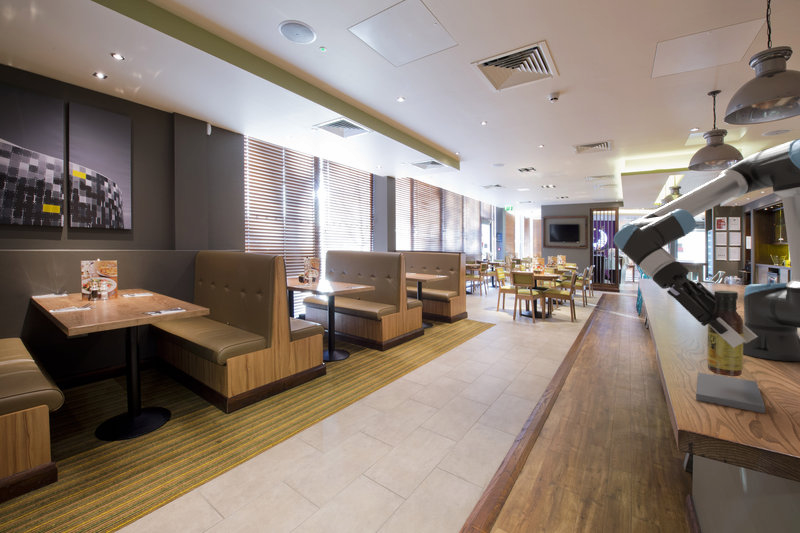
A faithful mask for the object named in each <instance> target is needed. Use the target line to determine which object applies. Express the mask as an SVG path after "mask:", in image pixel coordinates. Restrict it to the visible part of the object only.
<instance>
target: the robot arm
mask: <svg viewBox="0 0 800 533" xmlns="http://www.w3.org/2000/svg"><path fill="white" fill-rule="evenodd" d="M769 188H772V192H773V194H775V195H777V196H779V197H780V198H781V199H782V201H781V202H782V207H783V214H784V215H783V216H784V221H785V230H786V237H787V238H786V239H787V244H788V245H787V246H788V252H789V260H790V268H791V277H792V279H791V280H790V281H789V282H775V283H774V282H773V283H754V284H753V283H751V284H748V285H746V286H745V288H744V293H743V316H744V317H743V318H744V319H743V337H741V336H740V335H739V334H738V333H737V332H736V331H735V330H733V329H732V328H731V327H730V326H729V325H728V324H727V323H726V322H724V321H723V320H722V319H721V318H720V317H719V318H717V317H716V316H715V315H714V314H713V311H714V309H715V296H714V294H713V293H712V292H711V291H710V290H708V288H706V287H705V286H704V285H703V284H702V283H701V282H699V281H697V282H694V281H693V280H690V279H689V278H687V276H688V275H689V273H690V270H689V269H688V267H686V266H684V265H683V264H682V263H681V262H680V261H677V259H676V258H675V257H674V256H673V255H672V254H670V252H668V251H667V250H666V249H665V248H664V247H666V246H667V245H670V244H671V243H673V242H676V241H677V240H679V239H681V238H683V237H686V236H687V235H688V234H690V233H691V232H693V231H694V230H695V229H696V226H697V223H696V219H695V217H697V216H698V215H700V214H703V213H705V212H706V211H708V210H710V209H713V208H714V207H716V206H719V205H721V204H722V203H724V202H726V201H728V200H729V199H731V198H736V199H737V198H741V197H743V196H744V195H747V194H749V193H751V192H755V191H758V190H759V191H760V190H762V189H763V190H764V189H769ZM612 240H613V243H614V245H615V246H616V247H617V248H618V249H619V250H620V252H621V253H623V254H624V255H625V256H627V258H628V259H629V260H631V261H632V262H633V263H634V264H636V266H638V267H639V269H640V270H642V273H643V274H644V275H647V276H648V277H649V278H652V281H653V282H654V283H655V284H657V285H658V287H659V288H660V289H663V290H664V289H665V290H666V289H668V290H667V291H666V292H667V294H669V295H670V297H672V298H674V299H675V301H676V302H678V303H679V305H681V306H682V307H683V308H684V309H685V310H686V311H687V312H688V313H690V315H691V316H692V317H694V319H696V321H697V322H698V323H700V324H701V326H703V327H705V326H708V325H709V326H710V327H711V328H712V329H714V330H715V331H716V332H717V333H718V334H719V335H720V336H721V337H722V338H723V339H724V340H726V341H727V342H728V343H729V344H730V345H731V346H732V347H733V348H734V347H736V346H738V345H740V344H742V343H743V355H747V356H750V357H754V358H760V359H764V360H772V361H780V362H781V361H783V362H800V335H799V334H798V333H799V332H798V329H800V138H797V139H796V138H795V139H794V140H790V141H788V142H785V143H782V144H777V145H775V146H773V147H769V148H765V149H762V150H760V151H757V152H755V153H753V154H751V155H749V156H747V157H745V158H743V159H742V160H740V161H738V162H736V163H735V164H733V165H730V166H729V167H728V168H726V169H724V170H722V171H721V172H719V173H718V174H717V175H716V177H715V178H714V179H712V180H710V181H708V182H706V183H704V184H702V185H701V186H698V187H696V188H695V189H693V190H691V191H689V192H687V193H685V194H684V195H681V196H680V197H678V198H676V199H674V200H672V201H670V202H669V203H666V204H664V205H662V206H661V207H658V208H657V209H655V210H652V211H651V212H649V213H648V214H645V215H643V216H642V217H640V218H638V219H634V220H630V221H627V222H625V223H624V224H623V225H622V226H621V228H620V229H619V230H618V231H617V232H616V233H615V235H614V236H613V239H612ZM716 318H717V319H716Z"/></svg>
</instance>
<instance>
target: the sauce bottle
mask: <svg viewBox="0 0 800 533" xmlns="http://www.w3.org/2000/svg"><path fill="white" fill-rule="evenodd" d="M713 295H714V296H715V309H714V311H713V314H714V315H715V316H716V317H717V318H719V317H720V318H721V319H722V320H723V321H724V322H726V323H727V324H728V325H729V326H730V327H731V328H732V329H733V330H735V331H736V332H737V333H738V334H739V335H740V336H741V337H743V324H744V319H742V317H741V315H739V313H738V312H737V310H738V307H737V300H738V298H739V297H738V296H739V292H738V291H734V290H715V291H714V294H713ZM717 318H716V319H717ZM706 357H707V359H706V360H707V369H708V370H709V371H710V372H712V373H713V374H715V375H720V376H726V377H739V376H741V375H742V373H743V368H744V354H743V343H742V344H740V345H738V346H736V347H734V348H733V347H732V346H731V345H730V344H729V343H728V342H727V341H726V340H724V339H723V338H722V337H721V336H720V335H719V334H718V333H717V332H716V331H715V330H714V329H712V328H711V327H710V326H709V325H708V324H707V356H706Z"/></svg>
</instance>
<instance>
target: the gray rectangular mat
mask: <svg viewBox="0 0 800 533" xmlns="http://www.w3.org/2000/svg"><path fill="white" fill-rule="evenodd" d="M757 383H758V382H757V381H756V380H750V379H749V380H748V379H743V378H737V377H732V376H726V375H719V374H711V373H705V372H699V371H698V372H697V379H696V391H695V398H696V399H695V400H696V401H699V402H704V403H709V404H714V403H716V404H715V405H719V406H726V407H731V408H735V409H741V410H745V411H750V412H756V413H762V414H766V406H765V403H764V400H763V396H762V393H761V392H760V388H759V385H758V384H757Z"/></svg>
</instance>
